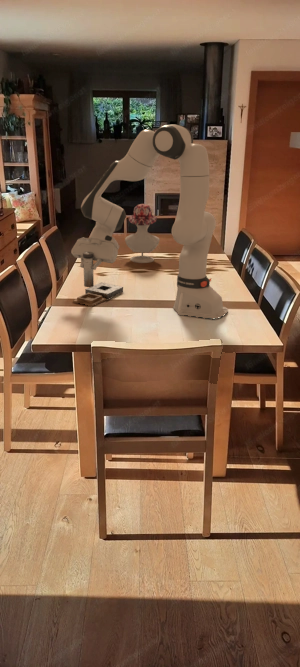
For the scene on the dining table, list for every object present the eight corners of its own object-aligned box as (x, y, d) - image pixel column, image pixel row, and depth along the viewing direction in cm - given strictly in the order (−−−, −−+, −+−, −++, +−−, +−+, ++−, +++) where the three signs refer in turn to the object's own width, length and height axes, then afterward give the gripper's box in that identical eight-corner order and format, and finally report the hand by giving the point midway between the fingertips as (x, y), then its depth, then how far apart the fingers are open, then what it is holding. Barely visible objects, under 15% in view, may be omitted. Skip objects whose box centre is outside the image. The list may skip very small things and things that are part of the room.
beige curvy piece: (160, 255, 289) (162, 201, 277) (158, 263, 272) (159, 207, 260) (128, 254, 290) (128, 200, 278) (123, 262, 274) (123, 206, 262)
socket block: (123, 292, 226) (123, 286, 225) (107, 299, 217) (107, 294, 216) (101, 287, 232) (101, 282, 231) (85, 294, 223) (85, 289, 222)
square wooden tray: (106, 300, 216) (106, 295, 215) (92, 306, 208) (91, 302, 208) (87, 295, 221) (87, 291, 220) (73, 302, 213) (72, 297, 212)
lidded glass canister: (96, 285, 213) (95, 252, 207) (89, 288, 209) (89, 255, 204) (87, 283, 215) (87, 251, 209) (81, 286, 211) (80, 253, 206)
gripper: (75, 232, 214) (63, 260, 210) (117, 238, 206) (105, 267, 202) (81, 241, 219) (70, 268, 215) (123, 247, 211) (111, 275, 207)
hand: (87, 268), depth 208 cm, fingers closed on lidded glass canister, 4 cm apart
